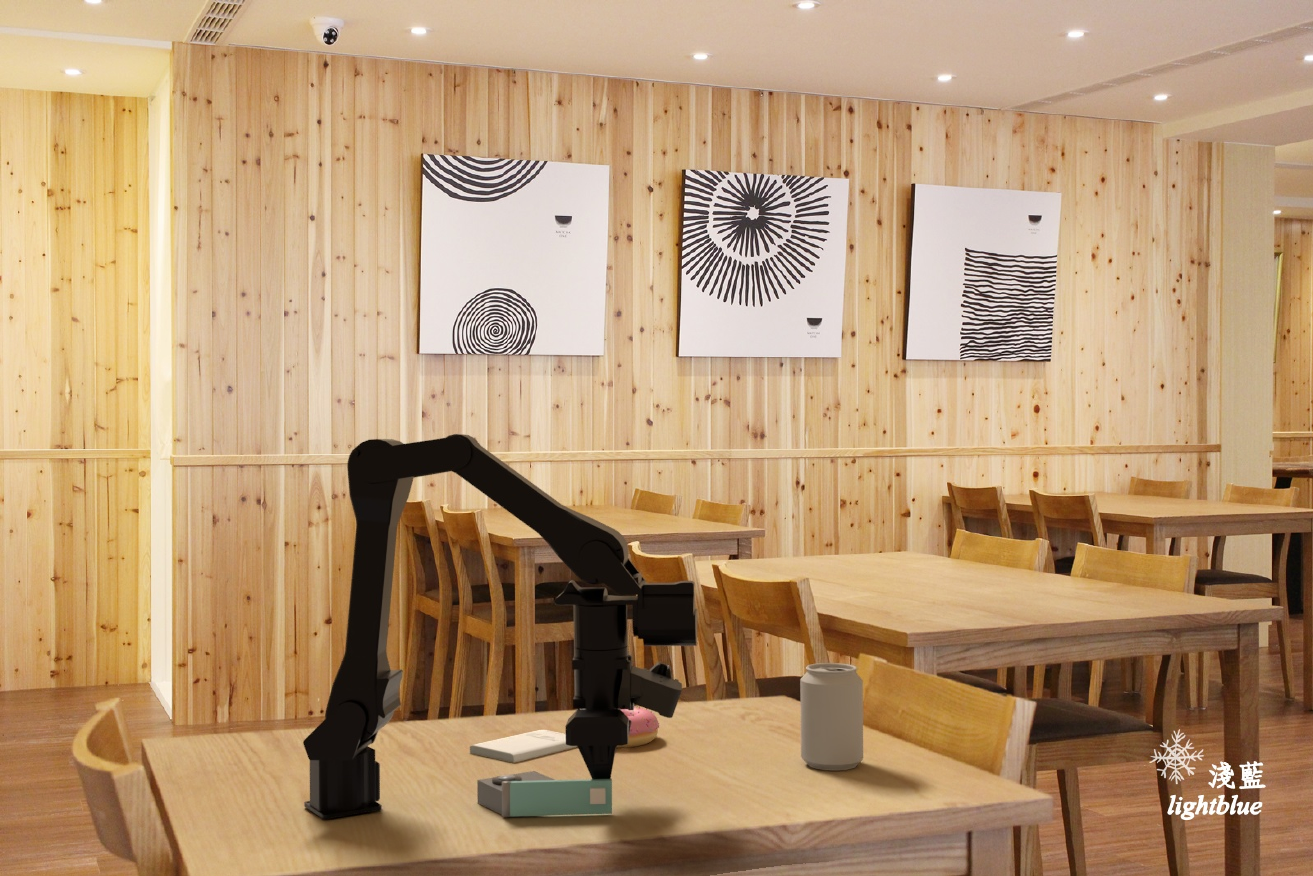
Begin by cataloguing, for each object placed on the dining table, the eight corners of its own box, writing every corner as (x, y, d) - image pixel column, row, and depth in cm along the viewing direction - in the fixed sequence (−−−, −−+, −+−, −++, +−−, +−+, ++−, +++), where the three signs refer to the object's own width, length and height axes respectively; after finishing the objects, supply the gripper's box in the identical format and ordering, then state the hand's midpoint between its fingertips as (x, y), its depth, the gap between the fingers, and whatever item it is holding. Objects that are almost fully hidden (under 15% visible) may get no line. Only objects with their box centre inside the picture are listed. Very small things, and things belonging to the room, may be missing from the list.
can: (875, 764, 162) (874, 665, 162) (839, 775, 156) (838, 673, 156) (825, 754, 167) (824, 658, 167) (788, 765, 161) (787, 666, 162)
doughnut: (658, 732, 182) (657, 701, 182) (661, 750, 171) (660, 718, 171) (577, 733, 181) (577, 702, 181) (575, 752, 170) (575, 719, 170)
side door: (501, 818, 139) (501, 784, 139) (502, 814, 140) (502, 781, 140) (612, 815, 139) (612, 781, 139) (611, 811, 141) (611, 778, 141)
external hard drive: (469, 757, 169) (540, 740, 178) (513, 767, 164) (584, 749, 173) (469, 744, 169) (540, 727, 178) (513, 754, 164) (584, 736, 173)
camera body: (502, 815, 140) (502, 787, 140) (477, 803, 145) (477, 775, 145) (560, 805, 144) (560, 777, 144) (534, 793, 149) (534, 766, 149)
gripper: (676, 662, 132) (678, 819, 132) (677, 630, 151) (679, 768, 151) (563, 663, 132) (566, 820, 132) (578, 631, 151) (581, 769, 151)
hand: (603, 792), depth 142 cm, fingers closed
